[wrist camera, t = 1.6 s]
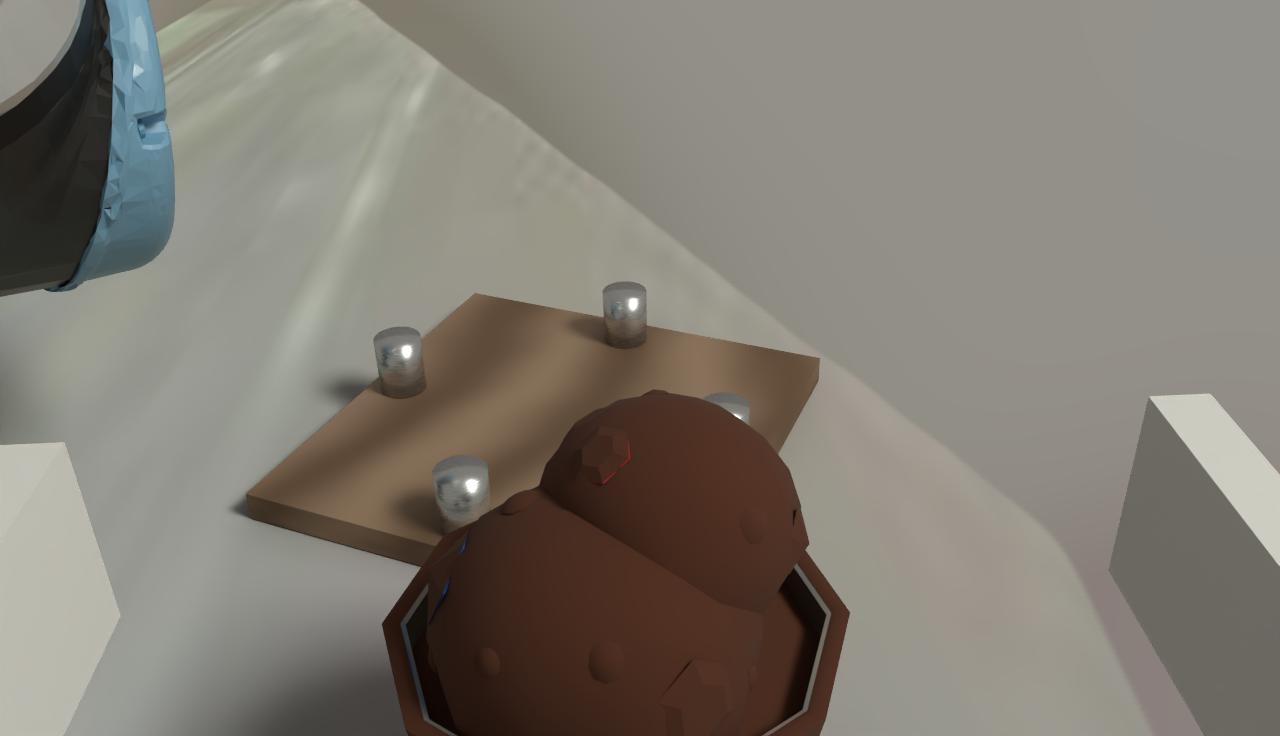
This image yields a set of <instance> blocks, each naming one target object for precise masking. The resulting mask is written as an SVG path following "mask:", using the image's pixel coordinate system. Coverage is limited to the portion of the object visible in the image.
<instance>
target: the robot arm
mask: <svg viewBox="0 0 1280 736" xmlns="http://www.w3.org/2000/svg"><path fill="white" fill-rule="evenodd" d="M166 114H167V112H166V102H165V84H164V78H163V71H162V65H161V59H160V54H159V48H158V43H157V37H156V32H155V27H154V23H153V18H152V13H151V9H150V4H149V1H148V0H0V297H2V296H7V295H13V294H18V293H24V292H29V291H34V290H40V289H45V290H46V291H50V292H63V291H69V290H72V289H75V288H76V287H78V286H79V285H80V284H82V283H83V282H84V281H87V280H91V279H96V278H100V277H104V276H108V275H112V274H116V273H120V272H125V271H129V270H133V269H137V268H139V267H142V266H144V265H146V264H147V263H149V262H151V261H152V260H153V259H154V258H156V257H157V256H158V255H159V254H160V253H161V251H162V250H163V249H164V247H165V246H166V244H167V242H168V240H169V238H170V235H171V232H172V228H173V222H174V211H175V178H174V162H173V152H172V143H171V137H170V133H169V129H168V126H167V124H166V122H165V118H166ZM1109 572H1110V574H1111V575H1112V577H1113V579H1114V581H1115V582H1116V584H1117V586H1118V587H1119V589H1120V591H1121V593H1122V594H1123V596H1124V598H1125V599H1126V601H1127V603H1128V605H1129V606H1130V608H1131V610H1132V612H1133V613H1134V615H1135V617H1136V618H1137V620H1138V622H1139V623H1140V625H1141V627H1142V629H1143V631H1144V632H1145V634H1146V636H1147V637H1148V639H1149V641H1150V643H1151V644H1152V646H1153V648H1154V649H1155V651H1156V653H1157V655H1158V656H1159V658H1160V660H1161V662H1162V663H1163V665H1164V667H1165V668H1166V670H1167V672H1168V674H1169V675H1170V677H1171V679H1172V680H1173V682H1174V684H1175V686H1176V688H1177V689H1178V691H1179V693H1180V694H1181V696H1182V698H1183V700H1184V701H1185V703H1186V705H1187V707H1188V708H1189V710H1190V712H1191V713H1192V715H1193V717H1194V718H1195V720H1196V722H1197V724H1198V725H1199V727H1200V729H1201V731H1202V732H1203V734H1204V736H1280V475H1279V473H1277V471H1276V470H1275V469H1274V468H1273V466H1272V465H1271V464H1270V463H1269V462H1268V460H1267V459H1266V458H1265V457H1264V456H1263V455H1262V453H1261V452H1260V451H1259V450H1258V449H1257V448H1256V447H1255V445H1254V444H1253V443H1252V442H1251V441H1250V439H1249V438H1248V437H1247V436H1246V435H1245V434H1244V432H1243V431H1242V430H1241V429H1240V428H1239V427H1238V425H1237V424H1236V423H1235V422H1234V421H1233V420H1232V418H1231V417H1230V416H1229V415H1228V414H1227V413H1226V411H1225V410H1224V409H1223V408H1222V407H1221V406H1220V404H1219V403H1218V402H1217V401H1216V400H1215V399H1214V398H1213V396H1212V395H1211V394H1194V395H1173V396H1171V395H1170V396H1149V398H1148V402H1147V406H1146V411H1145V415H1144V420H1143V424H1142V428H1141V433H1140V437H1139V441H1138V445H1137V450H1136V454H1135V458H1134V462H1133V467H1132V471H1131V475H1130V480H1129V484H1128V488H1127V493H1126V497H1125V501H1124V506H1123V510H1122V514H1121V518H1120V523H1119V527H1118V531H1117V536H1116V540H1115V544H1114V549H1113V553H1112V557H1111V562H1110V566H1109ZM119 618H120V612H119V609H118V606H117V603H116V600H115V597H114V594H113V591H112V588H111V585H110V582H109V579H108V575H107V572H106V569H105V566H104V563H103V560H102V557H101V554H100V551H99V548H98V545H97V541H96V538H95V535H94V532H93V529H92V526H91V523H90V520H89V517H88V514H87V511H86V507H85V504H84V501H83V498H82V495H81V492H80V489H79V486H78V483H77V480H76V477H75V473H74V470H73V467H72V464H71V461H70V458H69V455H68V452H67V449H66V446H65V443H64V442H61V443H37V444H14V445H0V736H64V734H65V732H66V730H67V728H68V726H69V724H70V721H71V719H72V717H73V715H74V713H75V711H76V709H77V707H78V705H79V702H80V700H81V698H82V696H83V694H84V692H85V690H86V688H87V686H88V684H89V681H90V679H91V677H92V675H93V673H94V671H95V669H96V667H97V665H98V662H99V660H100V658H101V656H102V654H103V652H104V650H105V648H106V646H107V644H108V641H109V639H110V637H111V635H112V633H113V631H114V629H115V627H116V625H117V622H118V620H119Z"/></svg>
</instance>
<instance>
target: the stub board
mask: <svg viewBox="0 0 1280 736" xmlns="http://www.w3.org/2000/svg"><path fill="white" fill-rule="evenodd" d="M603 309H604V318H603V317H598V316H593V315H588V314H582V313H577V312H572V311H566V310H561V309H556V308H550V307H545V306H540V305H534V304H529V303H524V302H519V301H513V300H508V299H503V298H497V297H492V296H487V295H481V294H476V293H475V294H473V295H472V296H471V297H470V298H469V299H468V300H467V301H465V302H464V303H463V304H462V305H461V306H460V307H459V308H457V309H456V310H455V311H454V312H453V313H452V314H451V315H449V316H448V317H447V318H446V319H445V320H444V321H443V322H441V323H440V324H439V325H438V326H437V327H436V328H435V329H434V330H432V331H431V332H430V333H429V334H428V335H427V336H426V337H424V338H423V339H422V340H421V337H420V333H419V332H418V331H417V330H415V329H413V328H410V327H393V328H389V329H386V330H383V331H381V332H379V333H378V334H377V335H376V336H375V337H374V347H375V354H376V360H377V367H378V373H379V378H378V379H376V380H375V381H374V382H373V383H372V384H371V385H370V386H368V387H367V388H366V389H365V390H364V391H363V392H362V393H360V394H359V395H358V396H357V397H356V398H355V399H354V400H352V401H351V402H350V403H349V404H348V405H347V406H346V407H344V408H343V409H342V410H341V411H340V412H339V413H338V414H337V415H335V416H334V417H333V418H332V419H331V420H330V421H329V422H327V423H326V424H325V425H324V426H323V427H322V428H321V429H319V430H318V431H317V432H316V433H315V434H314V435H313V436H311V437H310V438H309V439H308V440H307V441H306V442H305V443H303V444H302V445H301V446H300V447H299V448H298V449H297V450H295V451H294V452H293V453H292V454H291V455H290V456H289V457H287V458H286V459H285V460H284V461H283V462H282V463H281V464H279V465H278V466H277V467H276V468H275V469H274V470H273V471H271V472H270V473H269V474H268V475H267V476H266V477H265V478H263V479H262V480H261V481H260V482H259V483H258V484H257V485H255V486H254V487H253V488H252V489H251V490H250V491H249V492H247V493H246V497H247V502H248V506H249V510H250V514H251V518H252V519H255V520H259V521H262V522H266V523H270V524H273V525H277V526H280V527H284V528H287V529H291V530H294V531H298V532H301V533H305V534H309V535H312V536H316V537H319V538H323V539H326V540H330V541H333V542H337V543H340V544H344V545H348V546H351V547H355V548H358V549H362V550H365V551H369V552H372V553H376V554H379V555H383V556H387V557H390V558H394V559H397V560H401V561H404V562H408V563H411V564H415V565H418V566H423V564H424V563H425V561H426V560H427V558H428V557H429V556H430V554H431V553H432V551H433V550H434V548H435V547H436V546H437V544H438V543H439V541H440V540H441V538H442V537H443V536H444V535H445V534H447V533H450V532H452V531H454V530H456V529H459V528H461V527H463V526H465V525H468V524H470V523H472V522H474V521H477V520H478V519H479V517H480V516H482V515H483V514H485V513H487V512H489V511H490V510H492V509H494V508H496V507H498V506H499V505H501V504H503V503H504V502H505V501H506V500H507V499H508V498H509V497H511V496H513V495H514V494H516V493H518V492H521V491H524V490H531V489H533V488H535V487H537V486H539V484H540V481H541V477H542V474H543V471H544V468H545V465H546V463H547V462H548V461H549V460H550V458H551V457H552V456H553V455H554V453H555V452H556V451H557V450H558V448H559V446H560V445H561V443H562V441H563V439H564V437H565V436H566V434H567V433H568V432H569V430H570V429H571V428H572V426H573V425H574V424H575V423H576V422H577V421H579V420H580V419H582V418H583V417H585V416H586V415H588V414H589V413H591V412H592V411H594V410H596V409H600V408H604V407H607V406H608V405H610V404H612V403H614V402H615V401H617V400H620V399H627V398H633V397H639V396H642V395H643V394H645V393H647V392H649V391H651V390H653V389H655V390H665V391H667V392H668V393H673V394H679V395H685V396H691V397H697V398H700V399H703V400H705V401H708V402H711V403H714V404H717V405H720V406H721V407H723V408H724V409H726V410H727V411H729V412H730V413H732V414H733V415H735V416H736V417H738V418H739V419H741V420H742V421H744V422H745V423H746V424H748V425H749V426H750V427H752V428H753V429H754V430H755V431H757V432H758V433H759V434H761V435H762V436H763V437H765V438H766V440H767V441H768V442H769V444H770V445H771V446H772V448H773V449H774V450H775V452H776V453H777V454H778V453H779V451H780V449H781V448H782V446H783V444H784V442H785V440H786V438H787V437H788V435H789V433H790V431H791V429H792V428H793V426H794V424H795V422H796V420H797V418H798V417H799V415H800V413H801V411H802V409H803V408H804V406H805V404H806V402H807V400H808V399H809V397H810V395H811V393H812V391H813V389H814V388H815V386H816V384H817V382H818V378H819V364H820V358H816V357H810V356H805V355H800V354H794V353H789V352H784V351H779V350H773V349H768V348H763V347H757V346H752V345H747V344H741V343H736V342H731V341H726V340H720V339H715V338H710V337H704V336H699V335H694V334H688V333H683V332H678V331H672V330H667V329H662V328H657V327H651V326H647V309H646V289H645V287H644V286H642V285H640V284H638V283H634V282H616V283H613V284H610V285H608V286H606V287H605V288H604V290H603Z"/></svg>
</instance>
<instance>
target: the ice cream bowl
mask: <svg viewBox="0 0 1280 736" xmlns="http://www.w3.org/2000/svg"><path fill="white" fill-rule="evenodd" d="M808 545H809V540H808V536H807V532H806V528H805V524H804V520H803V516H802V512H801V504H800V501H799V498H798V495H797V492H796V489H795V486H794V483H793V480H792V476H791V473H790V470H789V469H788V467H787V466H786V465H785V463H784V462H783V461H782V459H781V458H780V457H779V455H778V454H777V453H776V452H775V450H774V449H773V448H772V446H771V445H770V444H769V442H768V441H767V440H766V438H765V437H763V436H762V435H761V434H759V433H758V432H757V431H755V430H754V429H753V428H752V427H750V426H749V425H748V424H746V423H745V422H744V421H742V420H741V419H739V418H738V417H736V416H735V415H733V414H732V413H730V412H729V411H727V410H726V409H724V408H723V407H721V406H720V405H717V404H714V403H711V402H708V401H705V400H703V399H700V398H697V397H691V396H685V395H679V394H673V393H668V392H667V391H665V390H655V389H653V390H651V391H649V392H647V393H645V394H643V395H642V396H639V397H633V398H627V399H620V400H617V401H615V402H614V403H612V404H610V405H608V406H607V407H604V408H600V409H596V410H594V411H592V412H591V413H589V414H588V415H586V416H585V417H583V418H582V419H580V420H579V421H577V422H576V423H575V424H574V425H573V426H572V428H571V429H570V430H569V432H568V433H567V434H566V436H565V437H564V439H563V441H562V443H561V445H560V446H559V448H558V450H557V451H556V452H555V453H554V455H553V456H552V457H551V458H550V460H549V461H548V462H547V463H546V465H545V468H544V471H543V474H542V477H541V481H540V484H539V486H537V487H535V488H533V489H531V490H524V491H521V492H518V493H516V494H514V495H513V496H511V497H509V498H508V499H507V500H506V501H505V502H504V503H503V504H501V505H499V506H498V507H496V508H494V509H492V510H490V511H489V512H487V513H485V514H483V515H482V516H480V517H479V519H478V520H477V521H474V522H472V523H470V524H468V525H465V526H463V527H461V528H459V529H456V530H454V531H452V532H450V533H447V534H445V535H444V536H443V537H442V538H441V540H440V541H439V543H438V544H437V546H436V547H435V548H434V550H433V551H432V553H431V554H430V556H429V557H428V558H427V560H426V561H425V563H424V564H423V566H422V567H421V569H420V570H419V571H418V573H417V574H416V576H415V577H414V579H413V580H412V581H411V583H410V584H409V586H408V587H407V589H406V590H405V591H404V593H403V594H402V596H401V597H400V599H399V600H398V601H397V603H396V604H395V606H394V607H393V609H392V610H391V612H390V613H389V614H388V616H387V617H386V619H385V620H384V622H383V623H382V627H383V631H384V636H385V640H386V645H387V649H388V653H389V658H390V662H391V667H392V671H393V676H394V680H395V685H396V689H397V693H398V698H399V702H400V707H401V711H402V716H403V720H404V724H405V729H406V731H407V733H408V735H409V736H819V735H820V733H821V730H822V727H823V725H824V722H825V720H826V715H827V711H828V707H829V702H830V698H831V693H832V689H833V685H834V680H835V676H836V672H837V667H838V663H839V658H840V654H841V650H842V645H843V641H844V636H845V632H846V628H847V623H848V619H849V614H850V612H849V610H848V609H847V608H846V606H845V605H844V603H843V602H842V601H841V599H840V598H839V596H838V595H837V594H836V592H835V591H834V589H833V588H832V587H831V585H830V584H829V582H828V581H827V580H826V578H825V577H824V575H823V574H822V573H821V571H820V570H819V569H818V567H817V566H816V564H815V563H814V562H813V560H812V559H811V557H810V556H809V555H808V553H807V552H806V550H805V549H806V548H807V546H808Z"/></svg>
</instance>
